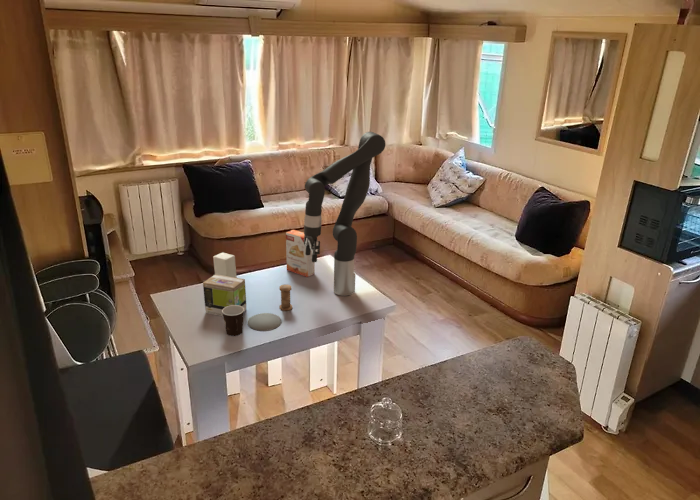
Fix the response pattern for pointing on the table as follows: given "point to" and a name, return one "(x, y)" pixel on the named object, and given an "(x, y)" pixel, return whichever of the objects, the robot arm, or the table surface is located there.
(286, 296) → the wooden turned knob
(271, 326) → the felt mat
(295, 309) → the table surface
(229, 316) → the coffee mug
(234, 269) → the skincare box
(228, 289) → the tea box
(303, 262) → the cracker box
